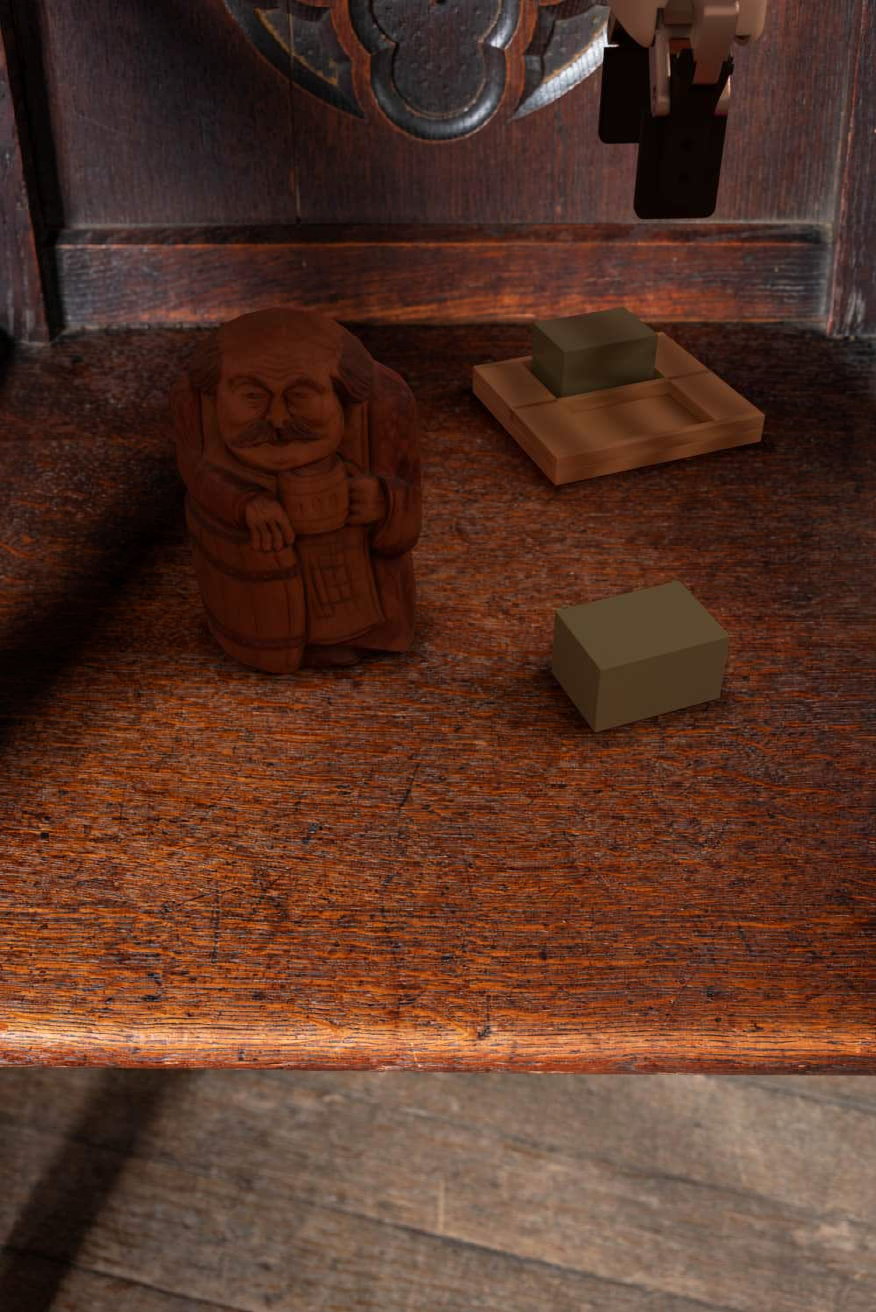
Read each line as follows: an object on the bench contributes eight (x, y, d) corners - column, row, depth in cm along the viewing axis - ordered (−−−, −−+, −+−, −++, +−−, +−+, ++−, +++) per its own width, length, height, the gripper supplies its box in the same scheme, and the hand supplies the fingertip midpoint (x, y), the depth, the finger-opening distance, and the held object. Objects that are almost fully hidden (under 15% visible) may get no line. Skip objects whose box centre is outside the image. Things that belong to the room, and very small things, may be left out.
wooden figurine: (202, 684, 64) (147, 358, 53) (203, 610, 69) (153, 298, 58) (430, 662, 66) (424, 339, 54) (415, 591, 71) (407, 281, 59)
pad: (670, 641, 67) (679, 579, 64) (719, 698, 63) (730, 635, 61) (550, 672, 65) (554, 610, 62) (594, 733, 61) (600, 670, 59)
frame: (659, 356, 93) (666, 291, 90) (760, 441, 83) (772, 372, 80) (472, 391, 89) (472, 325, 86) (555, 486, 79) (559, 414, 76)
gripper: (890, -326, 37) (791, 249, 47) (749, -333, 50) (696, 116, 61) (634, -324, 36) (593, 254, 47) (561, -331, 50) (542, 119, 61)
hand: (651, 176), depth 54 cm, fingers open, 9 cm apart
